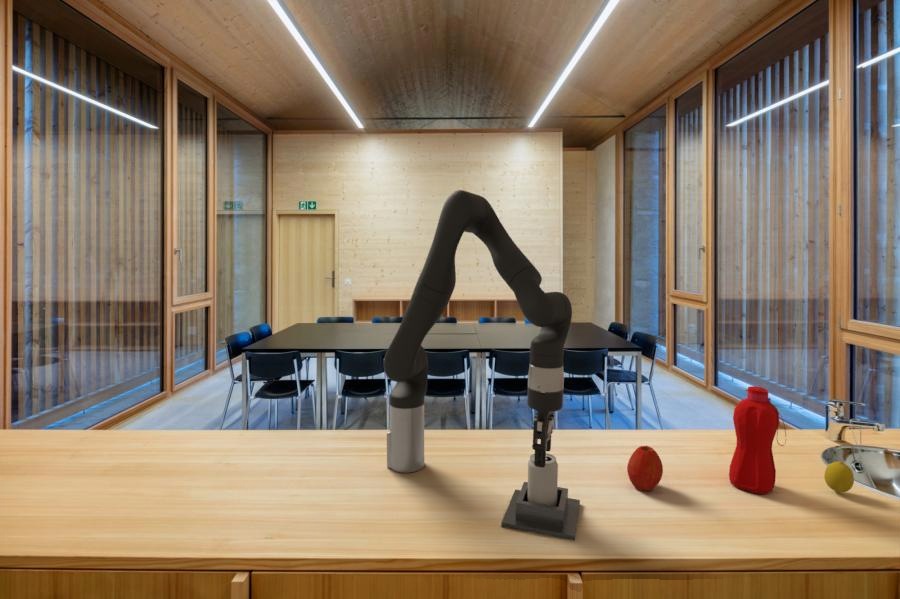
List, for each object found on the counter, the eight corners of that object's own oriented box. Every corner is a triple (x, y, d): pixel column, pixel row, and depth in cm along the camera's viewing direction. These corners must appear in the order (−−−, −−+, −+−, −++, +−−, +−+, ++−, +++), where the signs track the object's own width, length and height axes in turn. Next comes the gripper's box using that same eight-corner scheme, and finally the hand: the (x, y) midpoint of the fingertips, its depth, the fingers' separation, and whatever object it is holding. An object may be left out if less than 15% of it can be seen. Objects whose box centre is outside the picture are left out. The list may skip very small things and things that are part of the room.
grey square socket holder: (501, 526, 103) (501, 506, 103) (515, 493, 117) (515, 475, 117) (574, 540, 98) (575, 519, 98) (579, 504, 112) (580, 485, 112)
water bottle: (778, 502, 114) (786, 397, 111) (725, 486, 121) (731, 387, 119) (785, 487, 121) (792, 388, 118) (734, 474, 128) (741, 380, 125)
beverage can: (556, 519, 104) (558, 465, 103) (526, 515, 106) (527, 462, 104) (556, 504, 110) (558, 452, 109) (527, 500, 112) (529, 450, 111)
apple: (666, 497, 116) (668, 453, 115) (629, 493, 117) (631, 450, 116) (657, 481, 124) (659, 440, 123) (623, 478, 125) (625, 437, 124)
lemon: (846, 489, 120) (849, 458, 119) (856, 500, 114) (859, 467, 114) (819, 486, 121) (822, 455, 121) (828, 496, 116) (831, 464, 115)
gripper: (533, 375, 112) (530, 443, 114) (521, 392, 99) (519, 469, 101) (566, 378, 110) (563, 448, 112) (559, 396, 97) (556, 475, 98)
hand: (542, 458), depth 106 cm, fingers open, 8 cm apart
